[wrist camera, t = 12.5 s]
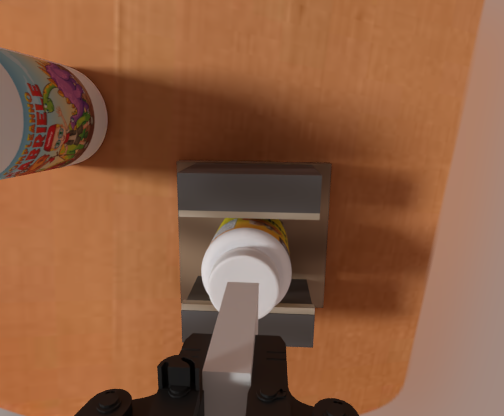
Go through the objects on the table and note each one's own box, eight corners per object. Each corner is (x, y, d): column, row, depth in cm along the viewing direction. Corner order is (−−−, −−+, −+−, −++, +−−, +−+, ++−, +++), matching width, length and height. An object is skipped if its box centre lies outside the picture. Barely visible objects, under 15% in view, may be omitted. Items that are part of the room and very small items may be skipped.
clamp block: (179, 160, 30) (153, 170, 24) (329, 162, 30) (346, 174, 23) (183, 297, 33) (161, 342, 26) (321, 302, 33) (335, 349, 26)
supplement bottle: (301, 243, 30) (315, 300, 20) (247, 282, 31) (235, 354, 21) (258, 189, 30) (251, 220, 20) (204, 230, 31) (171, 281, 21)
